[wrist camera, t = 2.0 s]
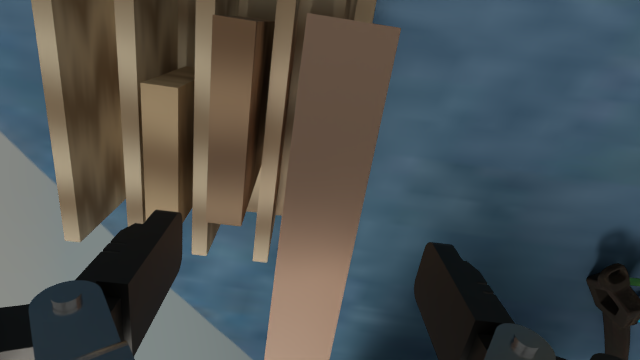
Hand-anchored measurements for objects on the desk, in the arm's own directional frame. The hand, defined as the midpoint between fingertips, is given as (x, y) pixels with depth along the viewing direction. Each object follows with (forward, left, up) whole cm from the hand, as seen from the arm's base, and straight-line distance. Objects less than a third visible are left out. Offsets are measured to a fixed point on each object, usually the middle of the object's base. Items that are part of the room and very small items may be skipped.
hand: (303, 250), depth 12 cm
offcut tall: (-1, -4, -19) cm, 19 cm away
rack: (0, -6, -20) cm, 21 cm away
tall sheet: (0, 0, -19) cm, 19 cm away
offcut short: (+2, -8, -19) cm, 20 cm away
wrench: (+24, +36, -21) cm, 47 cm away
